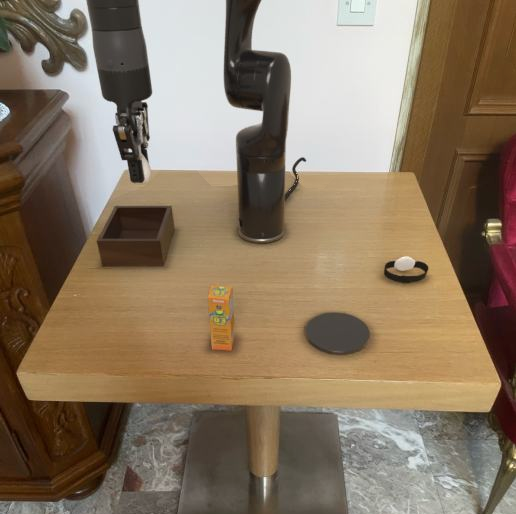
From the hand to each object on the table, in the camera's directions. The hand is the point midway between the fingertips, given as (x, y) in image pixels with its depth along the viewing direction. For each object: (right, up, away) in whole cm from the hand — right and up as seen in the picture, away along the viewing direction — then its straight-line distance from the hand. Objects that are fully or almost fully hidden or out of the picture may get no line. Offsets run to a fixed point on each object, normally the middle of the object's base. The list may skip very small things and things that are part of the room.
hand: (140, 176), depth 88 cm
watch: (+46, -16, +7) cm, 49 cm away
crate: (-4, -9, +16) cm, 19 cm away
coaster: (+32, -27, -6) cm, 42 cm away
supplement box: (+14, -28, -7) cm, 33 cm away
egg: (0, -1, +1) cm, 1 cm away
